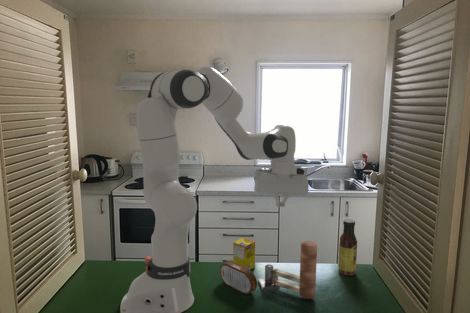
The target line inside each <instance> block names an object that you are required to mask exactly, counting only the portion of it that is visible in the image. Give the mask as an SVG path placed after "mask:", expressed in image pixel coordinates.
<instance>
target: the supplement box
mask: <svg viewBox="0 0 470 313" xmlns="http://www.w3.org/2000/svg"><path fill="white" fill-rule="evenodd" d="M232 245H233V247H232V248H233V249H232V250H233V255H232V256H233V262H235V263H237V264H239V265H241V266H243V267H246V268H248V269H249V270H251V271H253V270H255V269H256V241H254V240H251V239H248V238H245V237H242V238H239V239H237V240H236V241H235V240H234V242H233V244H232Z"/></svg>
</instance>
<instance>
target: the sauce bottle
mask: <svg viewBox="0 0 470 313" xmlns="http://www.w3.org/2000/svg"><path fill="white" fill-rule="evenodd" d="M355 225H356V221H355V220H354V219H344V220H343V232H342V234H341V235H340V237H339V245H338V272H339V274H341V275H343V276H348V277H350V276H354V275H355V274H356V270H357V254H358V240H357V238H356V235H355V234H356V233H355Z"/></svg>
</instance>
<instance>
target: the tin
mask: <svg viewBox="0 0 470 313" xmlns="http://www.w3.org/2000/svg"><path fill="white" fill-rule="evenodd" d="M219 271H220V277H221V279H222V281H223V283H224V284H225V285H227V287H230V288H232V289H234V290H235V291H238V292H240V293H242V294H244V295H250V294H252V293H253V292H255V291H256V289H257V287H258V279H257V278H256V276H255V274H254V272H253V270H249V269H248V268H246V267H243V266H241V265H239V264H237V263H235V262H234V261H232V260H227V261H225V262H224V263H222V264H221V266H220V269H219Z"/></svg>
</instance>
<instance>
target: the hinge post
mask: <svg viewBox="0 0 470 313" xmlns="http://www.w3.org/2000/svg"><path fill="white" fill-rule="evenodd" d="M273 270H274V265H273V264H266V265H265V266H264V277H261V278H258V279H257V283H258V284H259V286H260V289H261V291H262V292H263V291H264V292H266V291H267V292H268V291H278V290H281V287H280V286H277V285H274V284H272V281H273Z"/></svg>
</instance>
